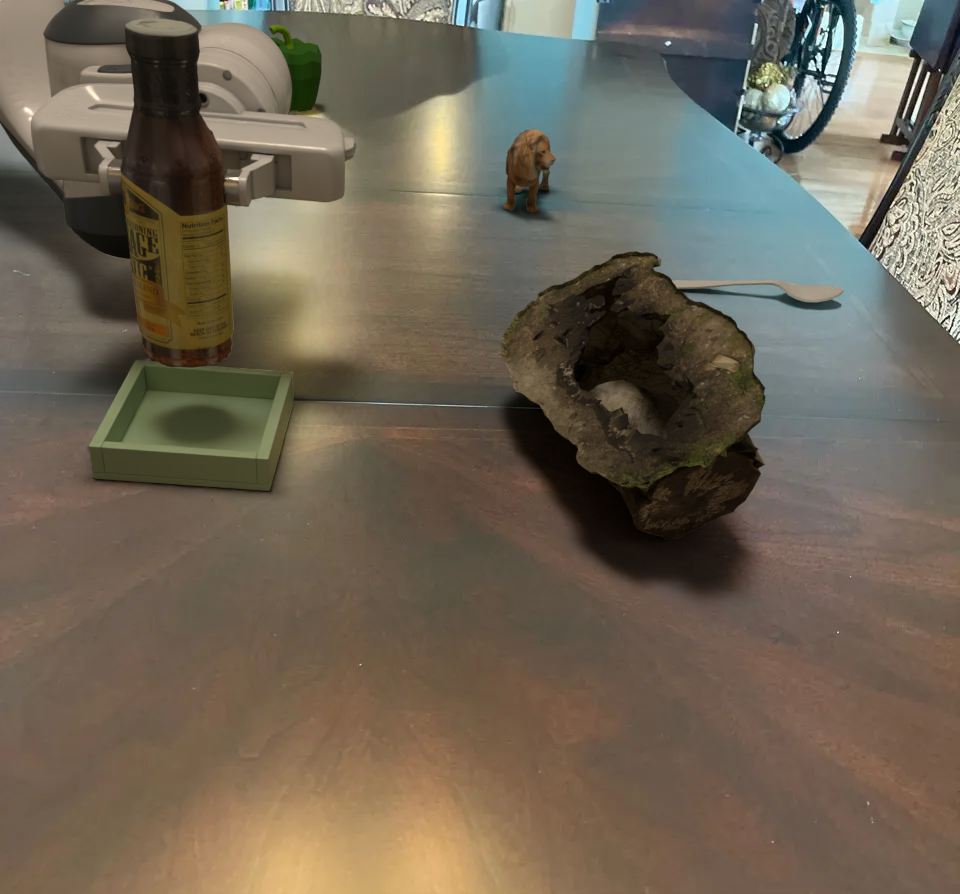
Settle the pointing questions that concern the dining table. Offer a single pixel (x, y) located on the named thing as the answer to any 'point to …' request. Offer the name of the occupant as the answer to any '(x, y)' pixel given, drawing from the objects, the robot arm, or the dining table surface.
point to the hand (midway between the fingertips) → (172, 188)
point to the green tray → (195, 426)
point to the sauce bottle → (175, 202)
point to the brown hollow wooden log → (644, 390)
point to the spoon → (794, 290)
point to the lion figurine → (528, 167)
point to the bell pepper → (300, 68)
